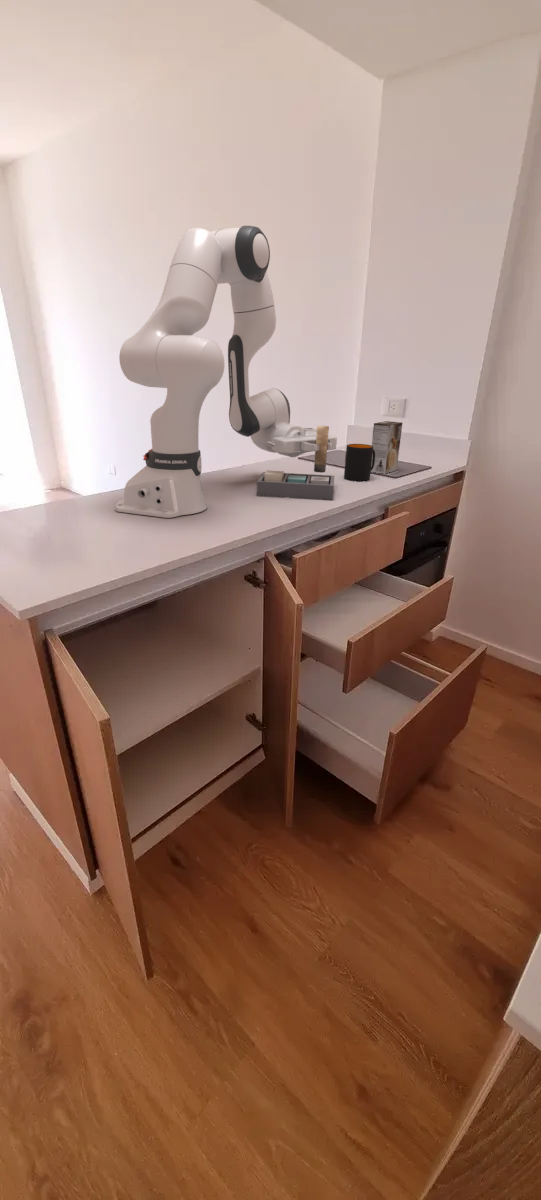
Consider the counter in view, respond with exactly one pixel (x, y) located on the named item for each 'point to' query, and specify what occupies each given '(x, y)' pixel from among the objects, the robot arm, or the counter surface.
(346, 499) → the counter surface
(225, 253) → the robot arm
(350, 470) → the mug
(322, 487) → the gray divided sorting tray
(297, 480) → the key teal
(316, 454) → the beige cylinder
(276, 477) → the key cream
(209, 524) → the counter surface
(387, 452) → the coffee box
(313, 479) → the key grey
